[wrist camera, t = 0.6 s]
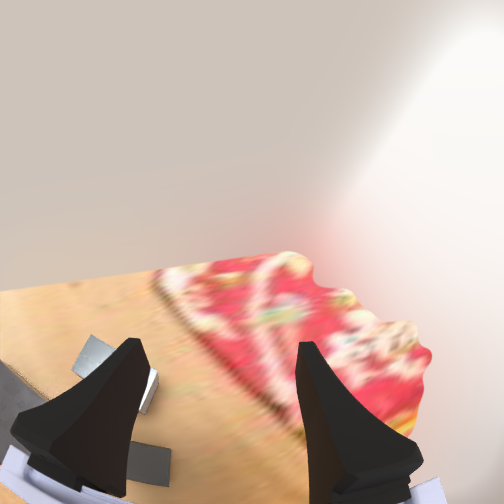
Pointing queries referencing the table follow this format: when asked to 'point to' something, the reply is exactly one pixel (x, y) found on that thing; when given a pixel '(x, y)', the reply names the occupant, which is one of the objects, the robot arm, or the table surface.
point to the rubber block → (148, 464)
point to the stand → (14, 405)
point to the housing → (97, 354)
